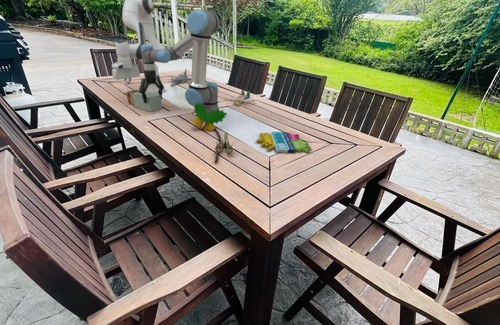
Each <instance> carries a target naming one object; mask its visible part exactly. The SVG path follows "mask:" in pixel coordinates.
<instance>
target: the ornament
mask: <svg viewBox="0 0 500 325" xmlns="http://www.w3.org/2000/svg"><path fill="white" fill-rule="evenodd" d="M219 110H220V108H219V109H217V110H216V111H214V110H212V112H211V113H208V112H206V109H204V106H201V104H198V103H197V102H196V106H193V112H194V113H195V118H192V119H191V122H192V123H193V125H195V127H197V128H198V129H202V130H203V131H206V132H212V131H213V132H214V131H215V130H214V128H215V129H216V126H215V124H218V123H219V122H223V119H226V115H227V114H228V113H227V112H224V110H223V109H221V110H220V111H219ZM207 113H208V115H207ZM214 123H215V124H214Z"/></svg>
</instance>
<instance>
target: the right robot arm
mask: <svg viewBox="0 0 500 325" xmlns="http://www.w3.org/2000/svg"><path fill="white" fill-rule="evenodd" d="M220 26H221V22H220V18H219V16H218V15H217V14H216V12H214V11H211V10H201V9H197V10H193V11H191V12H190V13H189V14H188V16H187V19H186V27H187V29H188V31H189V33H188V34H186V35H185V36H184V37H183V38H181V39H179V41H177V42H176V43H175V44H174V45H173V46H171V47H170V48H165V49H163V50H156V49H153V46H152V45H141V54H142V61H143V64H142V69H143V75H144V76H145V77H144V78H140V84H139V88H138V91H139V93H141V94H142V98H143V101H144V103H147V97H146V94H145V92H146V90H147V88H148V86H149V85H150V84H155V85H156V86H157V87H158V89H159V90H158V93H157V94H159V95H161V100H163V92H162V90H163V89H164V90H165V86H164V84H163V82H162V80H161V77H160V75H159V76H156V71H155V64H156V63H160V64H168V63H169V62H173V61H178V60H180V59H181V58H182V56H183V55H184V54H186V53H187V52H188V51H189V50H191V49H192V56H191V58H192V59H191V78H192V79H191V80H190V81H189V82H188V88H187V89H186V90H185V92H184V98H185V100H186V102H187V103H188V104H189V105H190V106H192V107H194V106H196V102H197V103H198V104H201V106H204V109H206V112H208V113H211V112H212V110H214V111H216V110H217V109H219V111H221V110H220V108H219V102H218V99H219V98H218V97H219V87H218V83H217V82H216V81H215V82H214V81H208V80H206V79H207V77H206V76H207V63H208V48H209V41H210V40H212V36H213V35H214V34H216V33H217V32H218V31H219V29H220ZM156 80H157V82H158V83H159V84H158V83H157V82H156ZM147 83H148V84H147ZM208 113H207V115H208ZM213 131H214V132H215V133H216V135H217V136H218V137H217V138H218V140H219V142H218V145H220V144H221V141H222V138H221V135H220V133H219V132H218V130H217V129H216V127H215V128H214V130H213ZM218 154H219V155H220V153H217V154H215V159H214V163H215V164H218V159H219V155H218Z"/></svg>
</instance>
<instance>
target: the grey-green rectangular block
mask: <svg viewBox="0 0 500 325" xmlns="http://www.w3.org/2000/svg"><path fill="white" fill-rule="evenodd" d="M145 94H146V97H147V103H144V101H143V98H142V94H141V93H139V92H135V93H133V98H134V104H133V105H134V107H135V108H136V109H137V108H138V109H141V110H144V111H147V112H150V113H153V112H156V111H159V110H162V109H163V104H162V99H161V95H159V94H158V93H152V92H148V91H146V92H145Z"/></svg>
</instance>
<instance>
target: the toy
mask: <svg viewBox="0 0 500 325" xmlns="http://www.w3.org/2000/svg"><path fill="white" fill-rule="evenodd" d="M240 92H241V93H240V95H238V96H237V97H235V99H233V98H230V99H228V98H227V97H226V96H225V97H224V98H223V101H224V102H233V103H232V104H233V105H235V106H242V103H243V104H247V105H252V106H255V105H256V104H257V103H256V102H254V101H253V100H252V101H251V102H250V101H248V100H246V99H248V98H250V97H251V90H250V89H249V90H248V91H247V92H246V93H245V91H244V89H242V90H241V91H240Z"/></svg>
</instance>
